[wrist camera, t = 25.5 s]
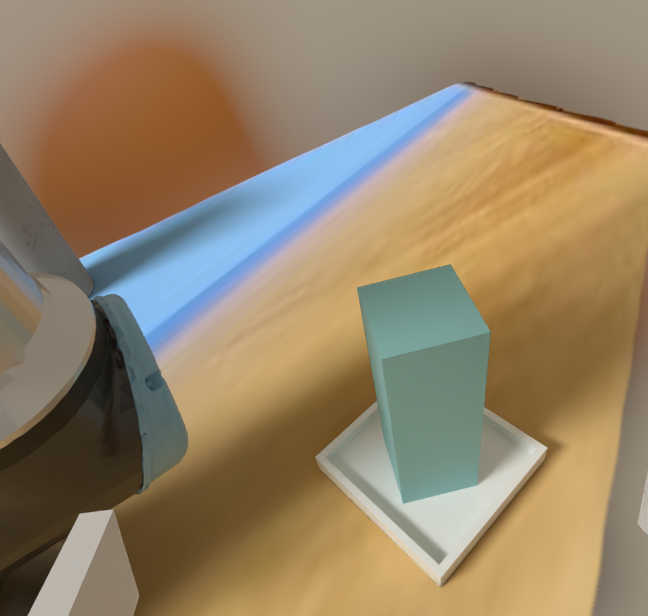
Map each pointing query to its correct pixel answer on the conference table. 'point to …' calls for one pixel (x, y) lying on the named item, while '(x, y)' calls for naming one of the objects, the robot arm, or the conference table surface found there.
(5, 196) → the thermos bottle
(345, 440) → the tray
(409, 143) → the conference table surface
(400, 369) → the teal post
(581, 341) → the conference table surface
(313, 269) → the conference table surface
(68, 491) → the robot arm
